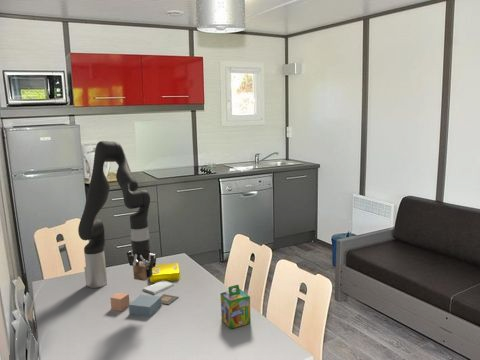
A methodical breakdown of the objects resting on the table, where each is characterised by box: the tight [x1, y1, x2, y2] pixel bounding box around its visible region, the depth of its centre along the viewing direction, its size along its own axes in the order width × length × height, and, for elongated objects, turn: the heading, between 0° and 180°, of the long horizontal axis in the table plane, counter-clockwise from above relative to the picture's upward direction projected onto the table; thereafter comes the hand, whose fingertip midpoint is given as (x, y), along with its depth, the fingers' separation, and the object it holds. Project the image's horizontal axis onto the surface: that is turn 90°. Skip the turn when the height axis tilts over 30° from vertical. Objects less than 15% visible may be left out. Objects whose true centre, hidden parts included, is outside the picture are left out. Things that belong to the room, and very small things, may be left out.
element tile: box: [149, 262, 181, 284], centre depth 216 cm, size 15×15×5 cm
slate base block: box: [128, 294, 163, 317], centre depth 179 cm, size 10×10×4 cm
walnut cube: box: [132, 261, 153, 282], centre depth 177 cm, size 6×6×6 cm
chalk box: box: [219, 284, 252, 330], centre depth 165 cm, size 9×9×15 cm
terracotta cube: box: [110, 292, 131, 312], centre depth 182 cm, size 6×6×6 cm
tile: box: [160, 293, 179, 306], centre depth 188 cm, size 8×8×1 cm
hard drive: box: [142, 280, 174, 295], centre depth 201 cm, size 2×8×12 cm
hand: (143, 275), depth 177 cm, fingers closed on walnut cube, 5 cm apart
